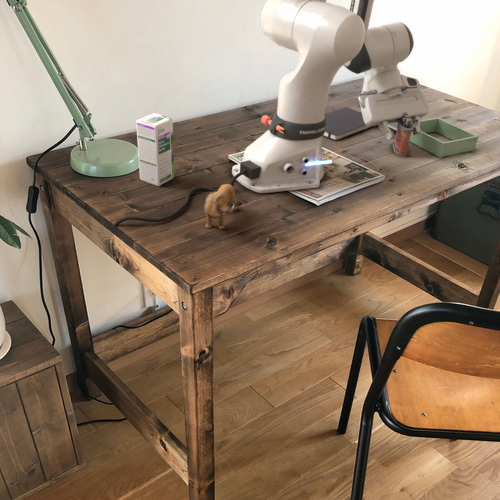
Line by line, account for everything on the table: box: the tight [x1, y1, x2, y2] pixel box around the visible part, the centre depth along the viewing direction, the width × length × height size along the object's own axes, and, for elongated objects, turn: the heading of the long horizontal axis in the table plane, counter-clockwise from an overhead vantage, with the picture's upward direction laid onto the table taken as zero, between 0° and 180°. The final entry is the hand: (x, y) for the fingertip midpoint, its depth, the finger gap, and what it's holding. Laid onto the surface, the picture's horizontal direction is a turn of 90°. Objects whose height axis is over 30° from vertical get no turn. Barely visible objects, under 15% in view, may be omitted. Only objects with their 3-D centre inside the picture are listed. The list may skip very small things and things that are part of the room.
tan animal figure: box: [203, 183, 238, 230], centre depth 116 cm, size 15×5×9 cm, turn 171°
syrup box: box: [135, 112, 175, 187], centre depth 128 cm, size 6×6×14 cm
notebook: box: [323, 106, 374, 141], centre depth 167 cm, size 13×2×21 cm
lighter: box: [392, 112, 413, 158], centre depth 152 cm, size 8×3×10 cm, turn 0°
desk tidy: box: [409, 117, 479, 158], centre depth 160 cm, size 13×15×4 cm
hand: (404, 136), depth 152 cm, fingers open, 8 cm apart
